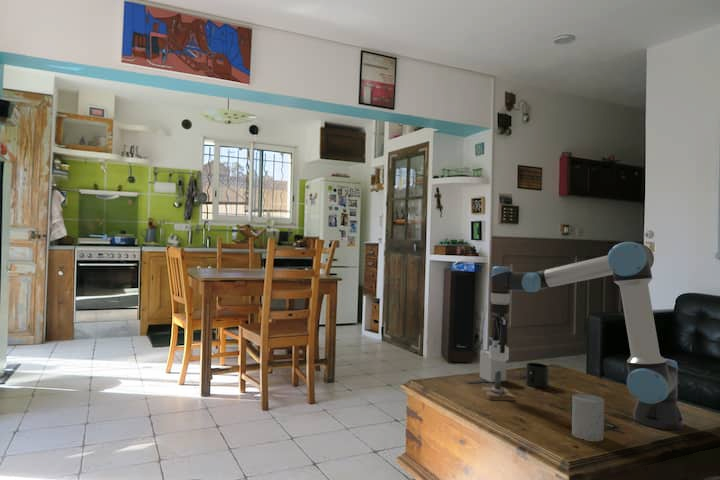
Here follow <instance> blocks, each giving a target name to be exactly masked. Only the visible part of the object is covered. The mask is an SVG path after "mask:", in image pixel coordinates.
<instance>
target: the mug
mask: <svg viewBox="0 0 720 480" xmlns="http://www.w3.org/2000/svg"><path fill="white" fill-rule="evenodd" d="M525 366H526V367H525V369H526V370H525V372H526V373H525V374H526V375H525V384H526V386H528V387H531V388H537V389H544V388H548V387H549V369H550V367H549V365H548V364H545V363H539V362H528V363H526V365H525Z"/></svg>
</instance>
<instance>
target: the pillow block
mask: <svg viewBox="0 0 720 480" xmlns="http://www.w3.org/2000/svg"><path fill="white" fill-rule="evenodd" d="M501 384H502V381H501V371H495V382H494V385H493V386H491V387H486V386H485V387H481V392H482V393H483V394H484V396H486V398H487V399H488V400H490V401H494V400H495V401H515V396H514V395H513V394H512V393H511V392H510V391H509V390H508V389H507V388H505V387H502V385H501Z"/></svg>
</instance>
